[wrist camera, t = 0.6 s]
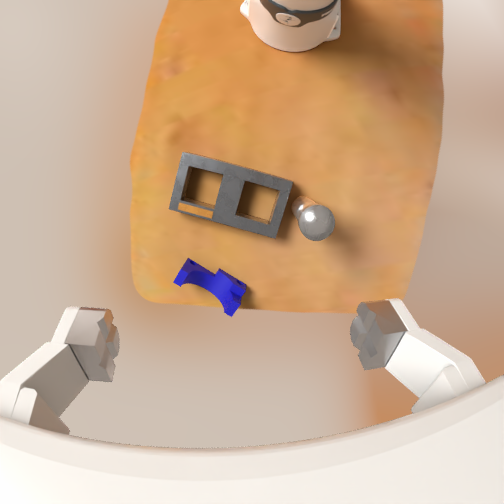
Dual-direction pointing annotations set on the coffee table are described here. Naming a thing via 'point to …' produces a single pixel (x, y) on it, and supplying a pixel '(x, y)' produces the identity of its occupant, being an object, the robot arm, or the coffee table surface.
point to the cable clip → (213, 284)
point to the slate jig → (229, 194)
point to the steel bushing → (313, 218)
